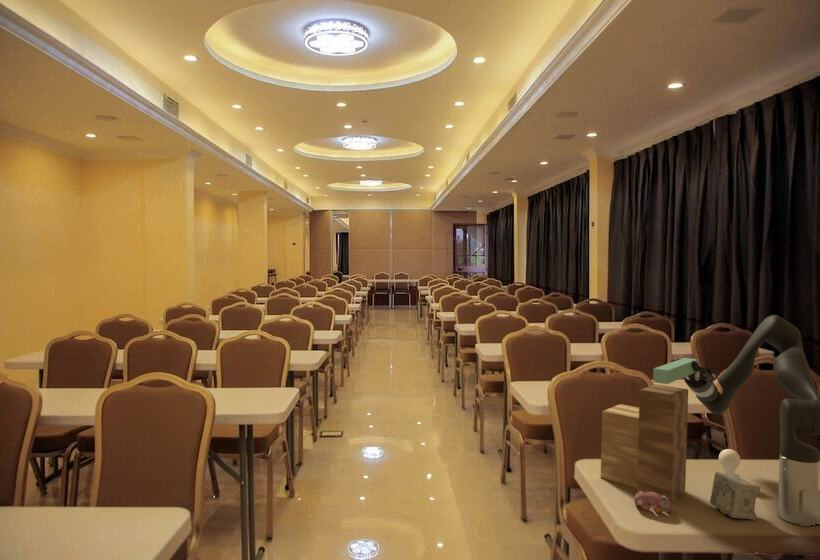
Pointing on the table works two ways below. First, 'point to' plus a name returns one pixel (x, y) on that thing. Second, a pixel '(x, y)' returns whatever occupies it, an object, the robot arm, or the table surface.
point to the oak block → (620, 444)
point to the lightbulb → (729, 461)
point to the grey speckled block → (734, 496)
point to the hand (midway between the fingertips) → (685, 362)
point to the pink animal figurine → (652, 501)
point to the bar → (673, 371)
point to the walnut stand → (662, 441)
